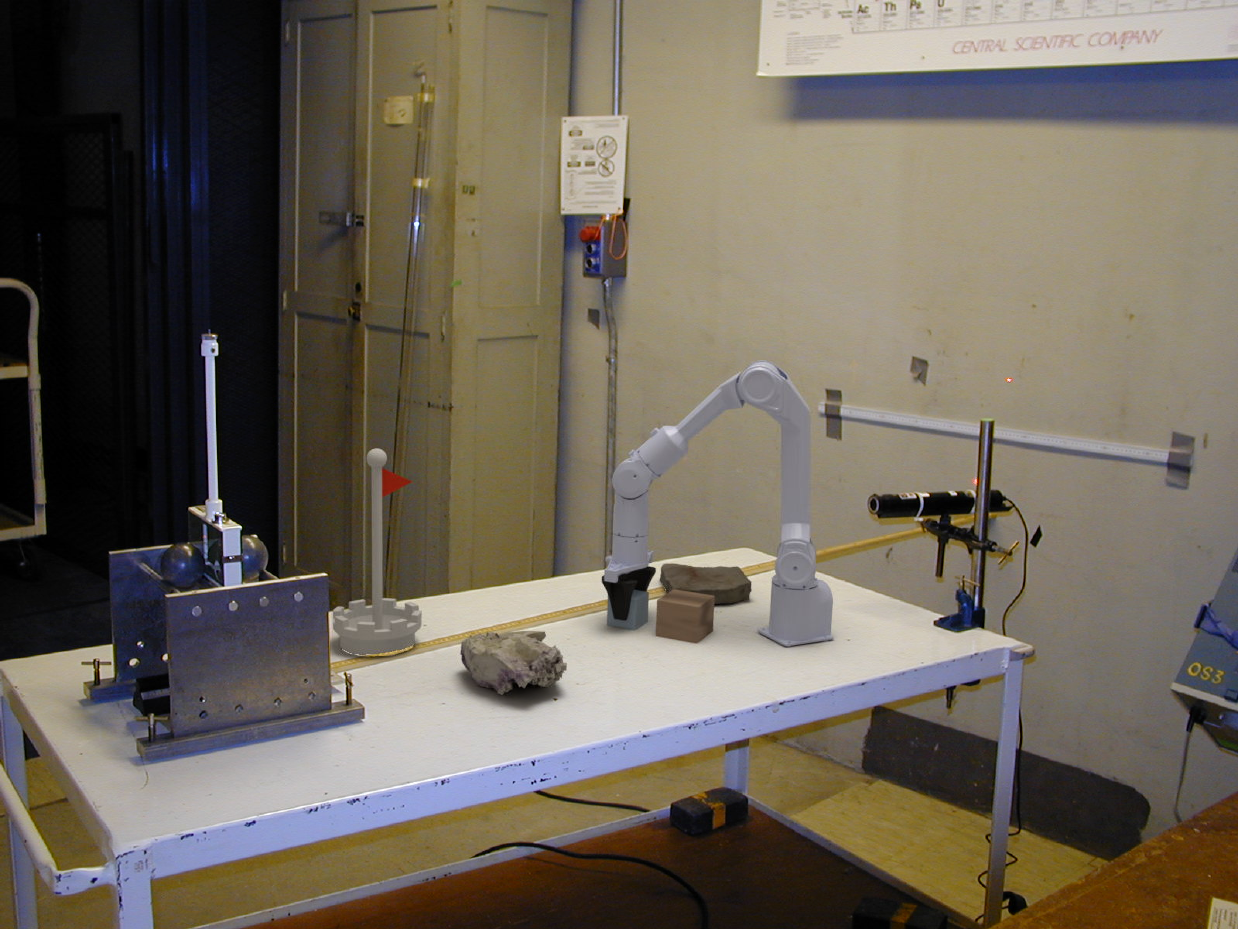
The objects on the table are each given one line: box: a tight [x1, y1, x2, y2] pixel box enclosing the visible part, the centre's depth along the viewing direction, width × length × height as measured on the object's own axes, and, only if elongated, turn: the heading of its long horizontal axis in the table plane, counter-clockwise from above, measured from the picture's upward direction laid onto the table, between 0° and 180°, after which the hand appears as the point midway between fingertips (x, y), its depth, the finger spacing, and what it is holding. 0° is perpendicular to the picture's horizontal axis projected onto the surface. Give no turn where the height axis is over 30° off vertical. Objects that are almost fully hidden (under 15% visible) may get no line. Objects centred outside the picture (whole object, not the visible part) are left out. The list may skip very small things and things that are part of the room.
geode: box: [459, 630, 568, 696], centre depth 165 cm, size 17×9×15 cm
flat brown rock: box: [659, 562, 752, 605], centre depth 211 cm, size 17×15×4 cm
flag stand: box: [332, 447, 423, 655], centre depth 177 cm, size 13×13×30 cm
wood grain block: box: [655, 589, 715, 644], centre depth 189 cm, size 7×7×6 cm
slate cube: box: [606, 590, 650, 631], centre depth 193 cm, size 5×5×5 cm
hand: (627, 614), depth 193 cm, fingers closed on slate cube, 5 cm apart
